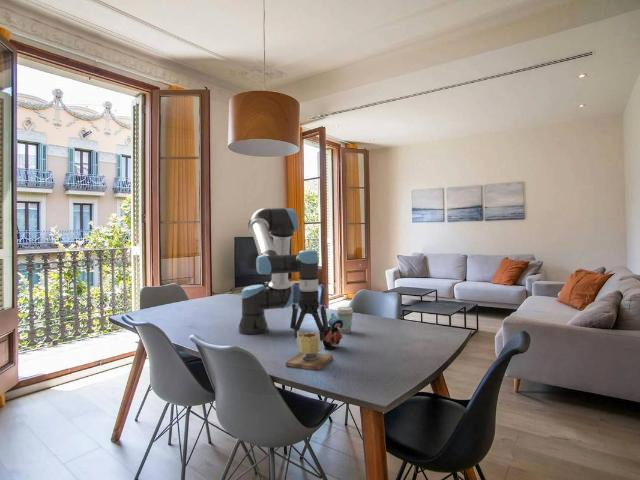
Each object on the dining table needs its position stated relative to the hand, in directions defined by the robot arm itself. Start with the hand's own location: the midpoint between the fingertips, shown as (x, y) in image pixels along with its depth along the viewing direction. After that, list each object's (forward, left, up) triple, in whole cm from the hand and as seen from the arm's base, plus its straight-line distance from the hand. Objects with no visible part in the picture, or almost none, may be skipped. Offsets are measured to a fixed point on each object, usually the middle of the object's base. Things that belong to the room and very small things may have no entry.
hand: (309, 347), depth 146 cm
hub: (0, 0, -1) cm, 1 cm away
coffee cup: (0, +47, -6) cm, 47 cm away
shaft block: (0, 0, -6) cm, 6 cm away
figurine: (+3, +20, -6) cm, 21 cm away
